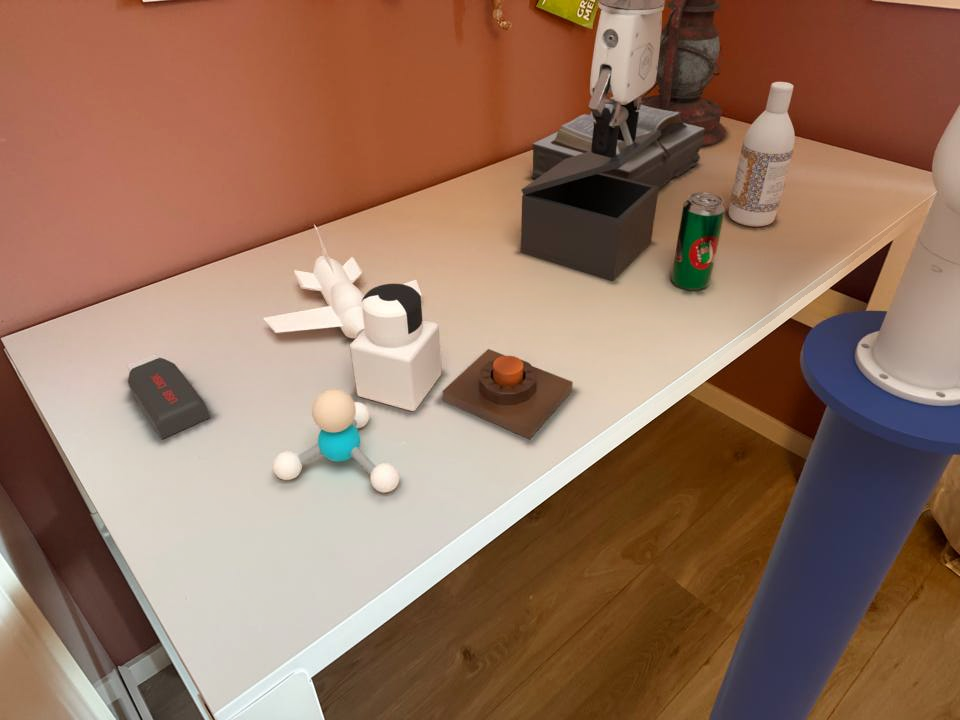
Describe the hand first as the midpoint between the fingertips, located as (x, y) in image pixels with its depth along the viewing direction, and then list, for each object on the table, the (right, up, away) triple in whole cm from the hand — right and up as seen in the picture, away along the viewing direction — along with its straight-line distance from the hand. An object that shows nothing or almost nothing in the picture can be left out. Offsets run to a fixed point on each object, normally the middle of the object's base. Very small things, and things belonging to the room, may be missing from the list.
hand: (613, 145), depth 93 cm
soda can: (+11, -18, +3) cm, 21 cm away
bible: (+7, +5, +32) cm, 33 cm away
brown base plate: (-14, -32, -15) cm, 38 cm away
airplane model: (-35, -21, -1) cm, 41 cm away
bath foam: (+24, -6, +18) cm, 31 cm away
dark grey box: (-2, -11, +11) cm, 16 cm away
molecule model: (-31, -38, -22) cm, 54 cm away
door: (-2, -2, +3) cm, 4 cm away
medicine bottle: (-26, -31, -13) cm, 43 cm away
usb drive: (-52, -32, -15) cm, 63 cm away
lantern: (+21, +17, +47) cm, 54 cm away
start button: (-14, -30, -16) cm, 37 cm away
